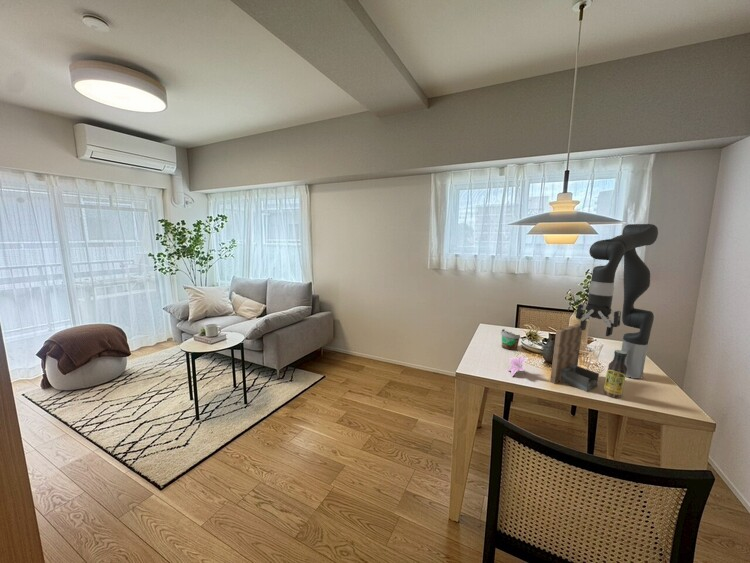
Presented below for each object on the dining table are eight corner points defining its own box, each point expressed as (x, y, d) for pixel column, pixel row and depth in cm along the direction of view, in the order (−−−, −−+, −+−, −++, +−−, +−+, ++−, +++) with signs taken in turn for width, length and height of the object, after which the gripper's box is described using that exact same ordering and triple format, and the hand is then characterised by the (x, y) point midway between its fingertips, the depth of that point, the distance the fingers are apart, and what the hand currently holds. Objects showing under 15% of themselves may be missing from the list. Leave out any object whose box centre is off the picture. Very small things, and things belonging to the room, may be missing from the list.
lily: (510, 368, 155) (503, 353, 153) (534, 365, 149) (527, 349, 147) (509, 384, 146) (501, 369, 144) (535, 382, 139) (527, 365, 137)
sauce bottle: (601, 394, 129) (608, 350, 126) (604, 389, 133) (610, 347, 130) (621, 400, 124) (628, 355, 121) (623, 395, 128) (630, 351, 125)
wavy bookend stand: (572, 372, 150) (578, 324, 145) (602, 383, 139) (609, 331, 135) (550, 381, 139) (556, 330, 135) (580, 394, 128) (588, 339, 124)
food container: (494, 345, 184) (496, 329, 182) (502, 344, 186) (503, 328, 184) (511, 352, 173) (513, 336, 171) (519, 351, 175) (520, 335, 173)
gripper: (627, 295, 113) (620, 336, 115) (585, 289, 125) (580, 326, 127) (618, 297, 109) (612, 340, 111) (576, 290, 121) (571, 329, 123)
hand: (595, 332), depth 119 cm, fingers open, 8 cm apart
